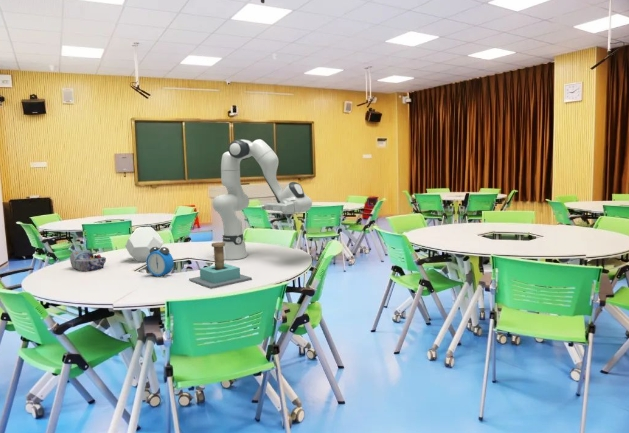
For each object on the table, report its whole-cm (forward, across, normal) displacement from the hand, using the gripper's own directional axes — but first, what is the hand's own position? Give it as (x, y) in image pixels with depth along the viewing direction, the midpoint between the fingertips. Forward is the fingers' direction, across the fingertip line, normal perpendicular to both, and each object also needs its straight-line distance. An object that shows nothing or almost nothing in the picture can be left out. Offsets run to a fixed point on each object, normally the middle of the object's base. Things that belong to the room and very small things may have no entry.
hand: (267, 208), depth 243 cm
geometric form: (+39, -75, +32) cm, 91 cm away
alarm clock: (+49, -28, +32) cm, 65 cm away
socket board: (+33, +5, +32) cm, 46 cm away
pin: (+33, +5, +31) cm, 46 cm away
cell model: (+72, -78, +32) cm, 110 cm away
